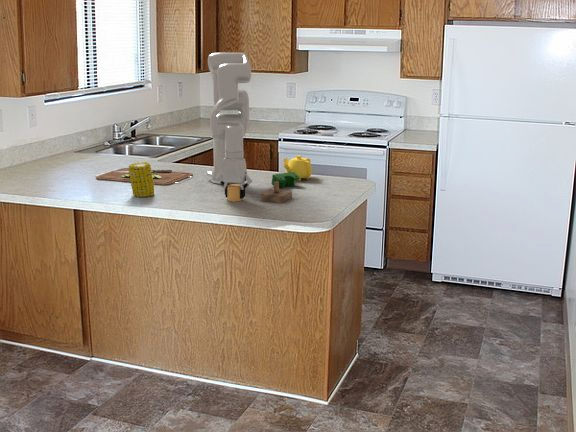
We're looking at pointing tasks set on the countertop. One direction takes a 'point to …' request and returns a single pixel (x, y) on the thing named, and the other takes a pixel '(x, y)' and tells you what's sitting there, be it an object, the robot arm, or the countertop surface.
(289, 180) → the clamp
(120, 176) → the chopping board
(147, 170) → the food
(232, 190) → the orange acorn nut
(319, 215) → the countertop surface
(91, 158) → the countertop surface
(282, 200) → the post block
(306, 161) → the teapot
